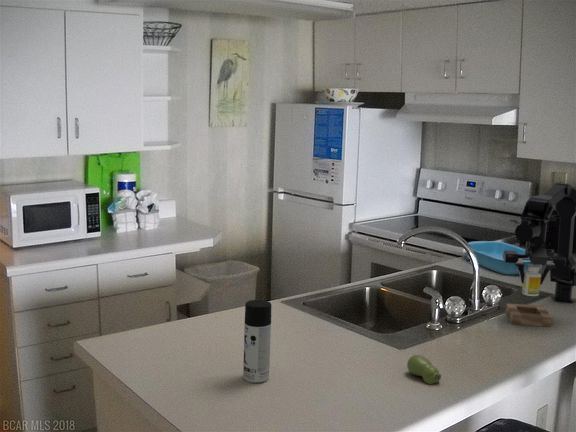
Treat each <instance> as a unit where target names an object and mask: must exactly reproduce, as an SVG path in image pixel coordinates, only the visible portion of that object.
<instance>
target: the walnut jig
mask: <svg viewBox="0 0 576 432" xmlns="http://www.w3.org/2000/svg"><path fill="white" fill-rule="evenodd" d="M505 313H506V315H507V317H508V319H509V321H510V323H511V324H512V325H517V326H518V325H519V326H521V325H522V326H531V327H532V326H533V327H544V328H545V327H546V328H548V327H549V328H552V323H553V321H552V320H553V317H552V315H550V313H549V312H548V310H547V309H546V307H545V305H536V304H519V303H508V302H507V303H506V306H505Z"/></svg>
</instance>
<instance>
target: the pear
mask: <svg viewBox="0 0 576 432" xmlns="http://www.w3.org/2000/svg"><path fill="white" fill-rule="evenodd" d="M406 367H407V370H408V372H409V373H410V374H412V375H413V376H418V377H422V379H423V382H424V383H426V384H428V385H435V384H436V383H440V381H441V379H442V375H441V374H440V371H439V369H438V368H436V367H435V366H434V365H433V364H432V362H431V360H430V359H428V358H427V357H425V356H424V355H421V354H414V355H413V354H412V355H411V356H410V357H409V359H408V360H407V363H406Z"/></svg>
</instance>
